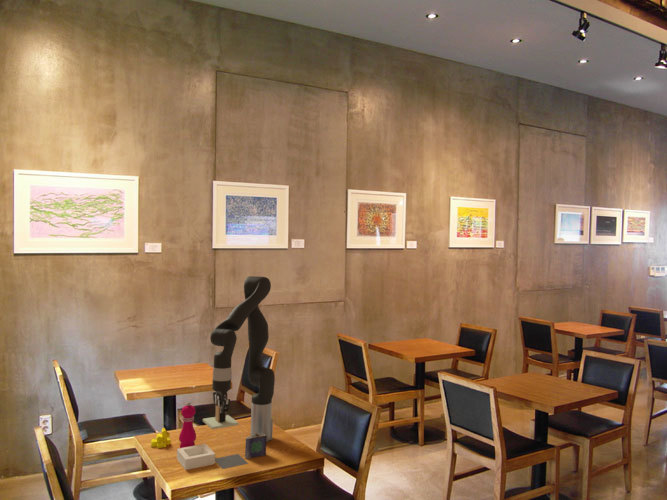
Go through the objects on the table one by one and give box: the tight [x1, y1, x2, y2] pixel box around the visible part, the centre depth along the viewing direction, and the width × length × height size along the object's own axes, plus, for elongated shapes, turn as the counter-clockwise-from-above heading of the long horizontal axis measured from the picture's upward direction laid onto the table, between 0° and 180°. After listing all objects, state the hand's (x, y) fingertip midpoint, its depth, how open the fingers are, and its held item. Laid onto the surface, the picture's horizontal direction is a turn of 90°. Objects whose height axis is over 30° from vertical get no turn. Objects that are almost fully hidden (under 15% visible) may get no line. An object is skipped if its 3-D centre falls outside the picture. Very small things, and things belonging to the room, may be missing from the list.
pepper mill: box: [178, 401, 197, 448], centre depth 224 cm, size 7×7×20 cm
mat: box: [215, 453, 249, 470], centre depth 211 cm, size 11×11×1 cm
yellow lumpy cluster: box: [150, 427, 172, 449], centre depth 226 cm, size 6×8×8 cm
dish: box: [176, 443, 216, 471], centre depth 209 cm, size 12×12×4 cm
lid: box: [202, 405, 239, 430], centre depth 210 cm, size 11×11×7 cm
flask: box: [244, 431, 267, 460], centre depth 217 cm, size 9×3×11 cm, turn 121°
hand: (220, 419), depth 210 cm, fingers closed on lid, 3 cm apart
